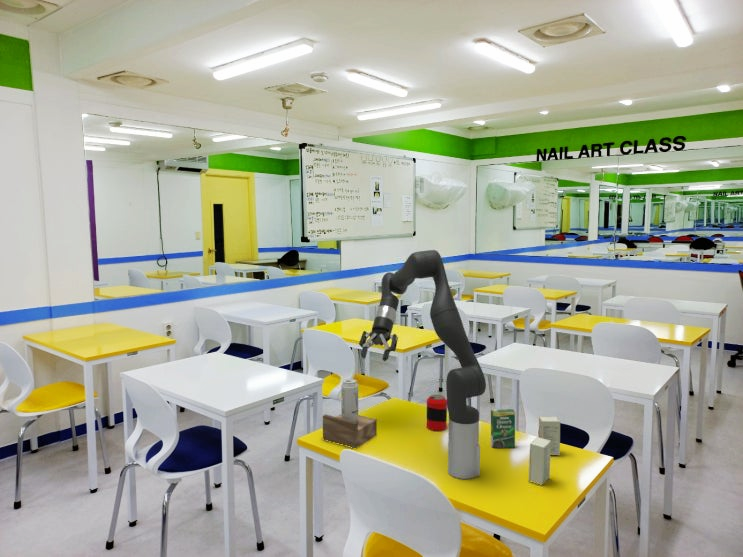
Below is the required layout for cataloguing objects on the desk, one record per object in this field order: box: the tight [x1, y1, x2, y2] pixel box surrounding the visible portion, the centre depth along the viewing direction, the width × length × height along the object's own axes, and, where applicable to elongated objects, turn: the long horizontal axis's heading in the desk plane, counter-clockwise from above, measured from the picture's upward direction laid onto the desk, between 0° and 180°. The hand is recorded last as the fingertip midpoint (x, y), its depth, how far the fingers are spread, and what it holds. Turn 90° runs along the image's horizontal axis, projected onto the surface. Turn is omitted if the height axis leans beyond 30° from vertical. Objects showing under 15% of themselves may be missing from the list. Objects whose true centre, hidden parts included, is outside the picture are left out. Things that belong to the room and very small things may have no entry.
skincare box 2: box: [528, 436, 551, 485], centre depth 155 cm, size 6×4×12 cm
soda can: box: [426, 394, 448, 432], centre depth 195 cm, size 8×8×12 cm
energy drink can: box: [341, 378, 359, 422], centre depth 185 cm, size 6×6×15 cm
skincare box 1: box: [538, 416, 561, 455], centre depth 173 cm, size 6×4×12 cm
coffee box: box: [490, 408, 516, 449], centre depth 178 cm, size 8×3×13 cm, turn 90°
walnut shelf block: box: [322, 413, 378, 449], centre depth 186 cm, size 14×14×9 cm
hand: (373, 359), depth 189 cm, fingers open, 8 cm apart
